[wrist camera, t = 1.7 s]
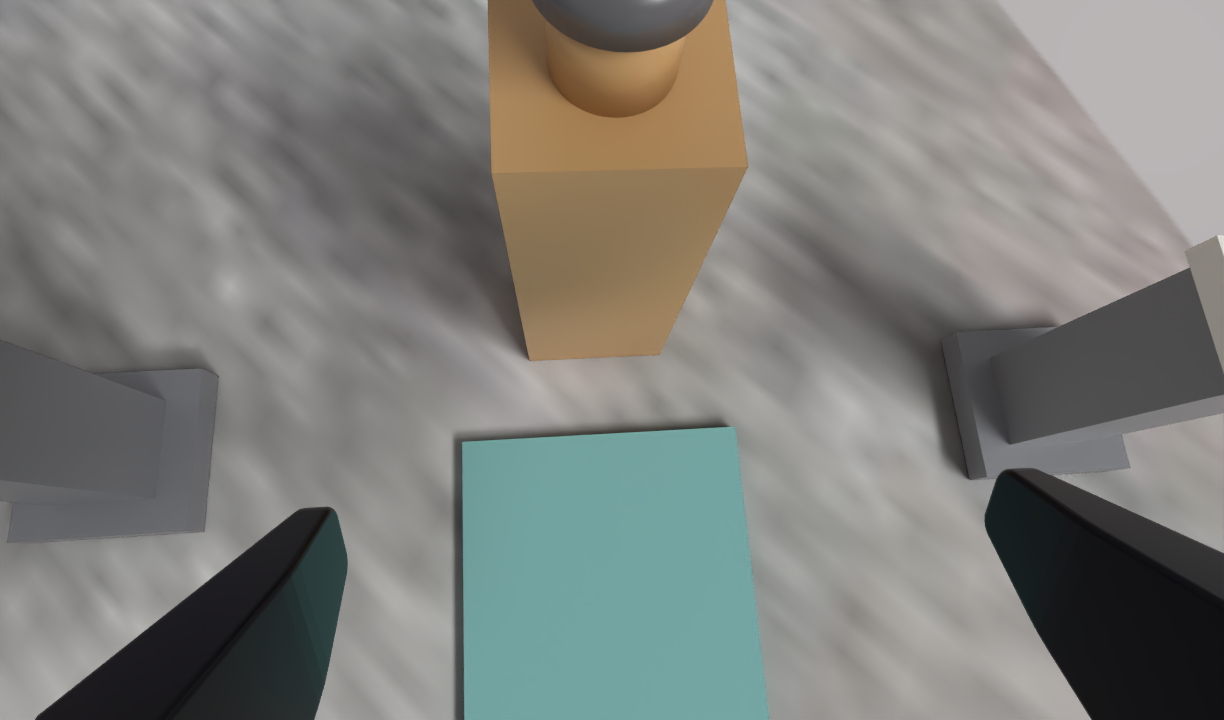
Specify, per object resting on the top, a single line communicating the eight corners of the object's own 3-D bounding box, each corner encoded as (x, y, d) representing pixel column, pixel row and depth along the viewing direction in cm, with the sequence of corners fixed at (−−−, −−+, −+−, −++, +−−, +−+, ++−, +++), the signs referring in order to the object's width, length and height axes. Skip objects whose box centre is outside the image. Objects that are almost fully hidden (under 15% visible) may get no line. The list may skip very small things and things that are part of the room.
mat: (765, 720, 20) (769, 724, 20) (466, 748, 20) (464, 752, 19) (732, 428, 23) (734, 426, 22) (464, 443, 22) (462, 441, 22)
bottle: (659, 354, 23) (805, 44, 9) (529, 360, 23) (466, 47, 9) (648, 237, 25) (763, -203, 10) (525, 241, 24) (463, -210, 10)
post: (204, 531, 21) (-94, 517, 12) (33, 542, 21) (-420, 537, 11) (218, 376, 22) (-38, 249, 13) (57, 383, 22) (-328, 258, 12)
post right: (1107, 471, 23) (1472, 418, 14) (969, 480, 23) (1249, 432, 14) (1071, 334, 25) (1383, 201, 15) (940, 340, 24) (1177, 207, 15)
